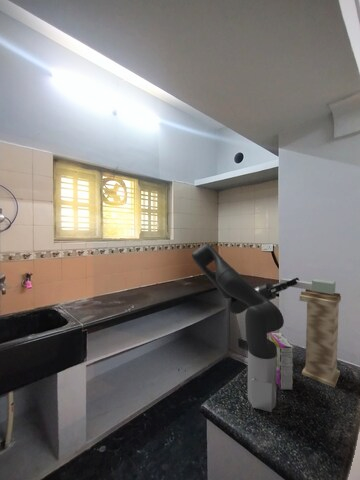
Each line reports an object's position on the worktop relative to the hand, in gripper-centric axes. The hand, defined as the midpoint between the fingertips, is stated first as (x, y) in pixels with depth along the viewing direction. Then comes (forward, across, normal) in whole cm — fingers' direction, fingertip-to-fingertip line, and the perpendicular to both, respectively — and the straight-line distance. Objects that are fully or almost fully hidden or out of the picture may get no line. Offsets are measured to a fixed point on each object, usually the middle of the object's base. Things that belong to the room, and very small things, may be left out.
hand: (297, 280), depth 94 cm
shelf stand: (-10, 0, +36) cm, 38 cm away
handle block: (+1, 0, +4) cm, 4 cm away
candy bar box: (-20, -15, +31) cm, 40 cm away
